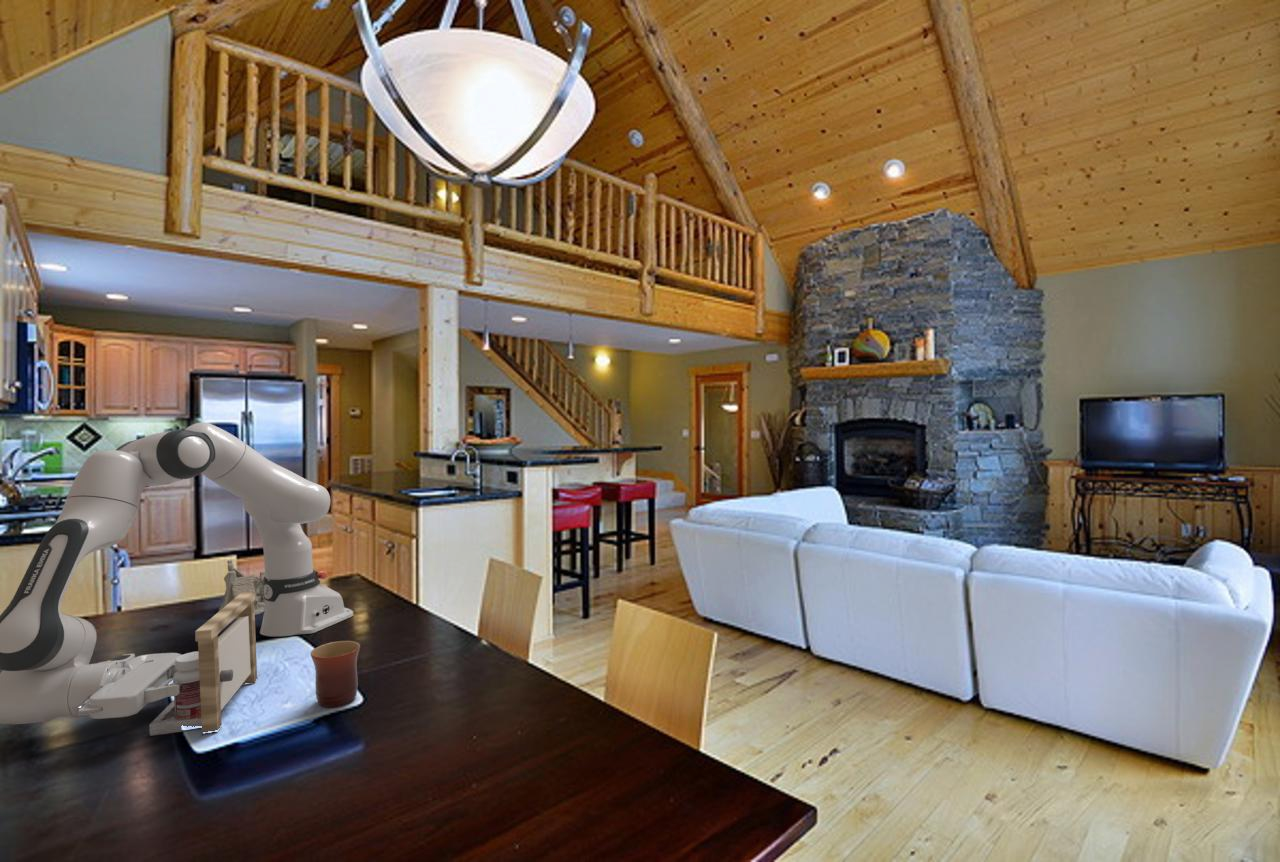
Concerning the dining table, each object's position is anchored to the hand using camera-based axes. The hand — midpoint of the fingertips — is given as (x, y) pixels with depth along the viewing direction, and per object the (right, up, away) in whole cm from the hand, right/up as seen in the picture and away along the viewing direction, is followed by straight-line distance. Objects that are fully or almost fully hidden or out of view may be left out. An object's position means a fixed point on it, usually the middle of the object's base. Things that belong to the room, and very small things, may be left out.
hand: (191, 678), depth 117 cm
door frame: (+4, -7, +5) cm, 10 cm away
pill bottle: (0, -7, +1) cm, 8 cm away
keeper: (+1, -8, 0) cm, 8 cm away
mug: (+24, -7, +8) cm, 26 cm away
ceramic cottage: (-29, -6, +66) cm, 72 cm away
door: (+5, -5, +5) cm, 9 cm away
